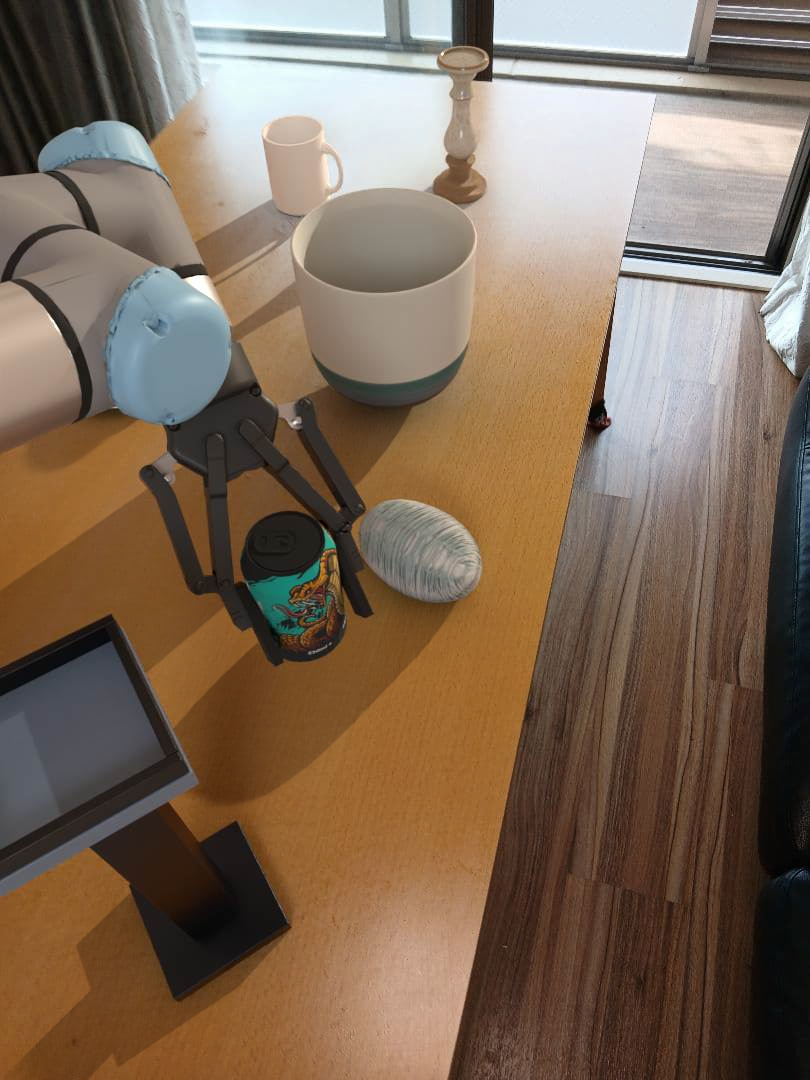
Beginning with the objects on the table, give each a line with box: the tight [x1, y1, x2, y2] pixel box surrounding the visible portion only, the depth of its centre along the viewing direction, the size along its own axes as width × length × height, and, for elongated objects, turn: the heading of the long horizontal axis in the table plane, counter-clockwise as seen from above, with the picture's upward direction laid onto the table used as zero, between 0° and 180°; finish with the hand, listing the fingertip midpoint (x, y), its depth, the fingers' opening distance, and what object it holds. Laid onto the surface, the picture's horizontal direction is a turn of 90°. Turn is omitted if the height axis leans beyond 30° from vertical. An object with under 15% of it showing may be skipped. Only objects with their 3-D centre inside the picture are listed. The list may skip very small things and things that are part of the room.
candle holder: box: [432, 45, 490, 204], centre depth 126 cm, size 9×9×20 cm
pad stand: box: [0, 613, 292, 1003], centre depth 54 cm, size 10×10×36 cm
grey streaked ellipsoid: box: [358, 498, 483, 604], centre depth 85 cm, size 14×10×10 cm
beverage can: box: [239, 510, 348, 663], centre depth 62 cm, size 7×7×12 cm
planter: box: [289, 187, 478, 412], centre depth 97 cm, size 20×20×21 cm
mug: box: [261, 114, 344, 217], centre depth 128 cm, size 10×12×12 cm
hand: (320, 636), depth 62 cm, fingers closed on beverage can, 7 cm apart
